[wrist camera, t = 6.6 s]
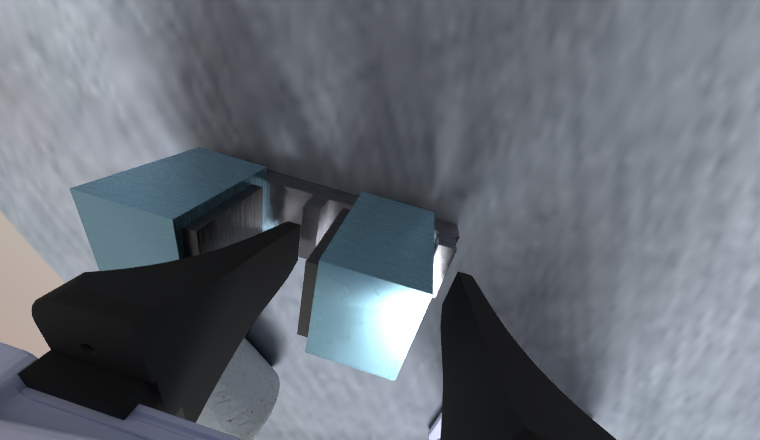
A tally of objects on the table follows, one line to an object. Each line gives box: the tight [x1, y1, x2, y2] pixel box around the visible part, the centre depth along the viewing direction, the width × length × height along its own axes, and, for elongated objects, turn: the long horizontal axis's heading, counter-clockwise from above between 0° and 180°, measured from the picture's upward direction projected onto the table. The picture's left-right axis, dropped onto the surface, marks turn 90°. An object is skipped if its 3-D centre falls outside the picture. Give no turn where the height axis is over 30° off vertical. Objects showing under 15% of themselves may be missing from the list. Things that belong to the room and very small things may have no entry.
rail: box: [70, 147, 459, 298], centre depth 12 cm, size 14×4×7 cm, turn 77°
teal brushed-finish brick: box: [297, 191, 435, 381], centre depth 12 cm, size 4×4×6 cm
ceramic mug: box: [196, 337, 280, 440], centre depth 20 cm, size 11×8×8 cm
